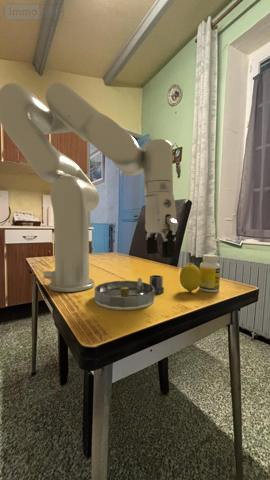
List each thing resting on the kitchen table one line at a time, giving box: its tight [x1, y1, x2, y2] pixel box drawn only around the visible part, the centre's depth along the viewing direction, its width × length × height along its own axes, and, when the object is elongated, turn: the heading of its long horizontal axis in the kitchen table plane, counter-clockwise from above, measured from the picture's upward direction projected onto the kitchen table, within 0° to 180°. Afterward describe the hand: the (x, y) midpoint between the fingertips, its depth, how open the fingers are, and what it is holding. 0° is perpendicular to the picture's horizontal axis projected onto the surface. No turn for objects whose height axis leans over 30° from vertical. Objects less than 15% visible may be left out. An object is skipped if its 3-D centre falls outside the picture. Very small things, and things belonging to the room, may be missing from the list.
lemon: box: [179, 262, 201, 293], centre depth 58 cm, size 6×6×8 cm
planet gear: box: [149, 274, 165, 295], centre depth 58 cm, size 4×4×4 cm
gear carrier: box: [94, 277, 156, 312], centre depth 52 cm, size 14×14×5 cm
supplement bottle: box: [198, 254, 221, 293], centre depth 61 cm, size 5×5×10 cm
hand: (159, 255), depth 58 cm, fingers open, 9 cm apart
